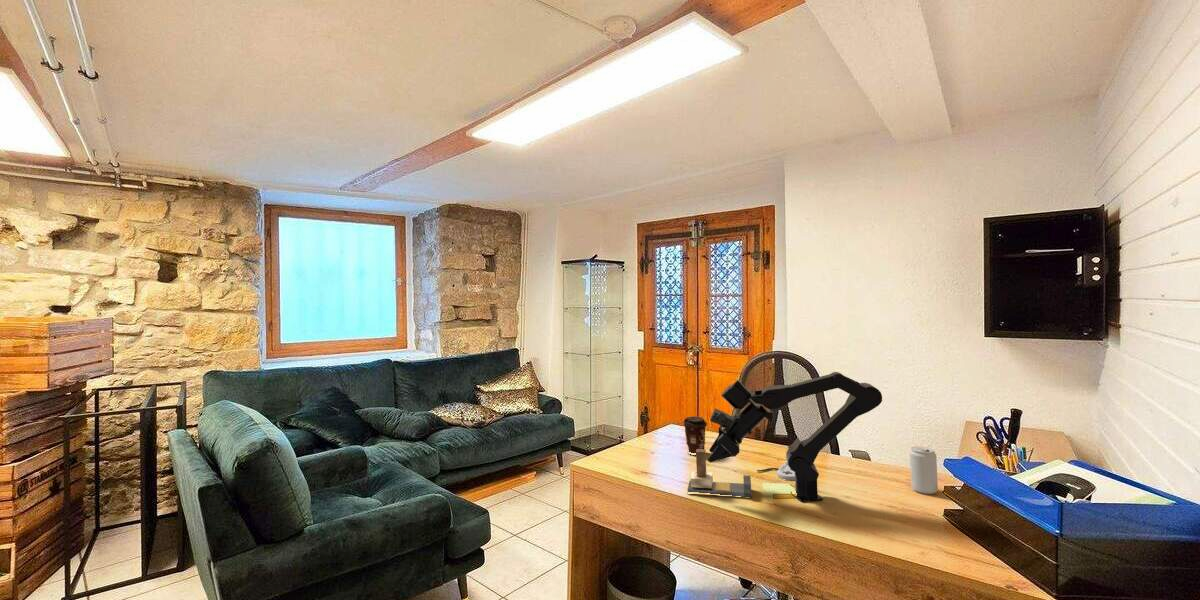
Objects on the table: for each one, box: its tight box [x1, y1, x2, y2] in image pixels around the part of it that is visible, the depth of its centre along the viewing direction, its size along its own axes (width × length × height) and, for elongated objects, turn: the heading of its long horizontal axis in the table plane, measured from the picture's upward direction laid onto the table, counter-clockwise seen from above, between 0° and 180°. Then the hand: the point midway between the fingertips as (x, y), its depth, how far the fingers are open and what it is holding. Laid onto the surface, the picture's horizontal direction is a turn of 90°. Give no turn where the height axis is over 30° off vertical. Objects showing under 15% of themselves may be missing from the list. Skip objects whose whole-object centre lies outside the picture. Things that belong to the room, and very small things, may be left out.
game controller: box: [756, 461, 795, 481], centre depth 162 cm, size 15×13×2 cm
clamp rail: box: [687, 474, 753, 499], centre depth 147 cm, size 18×7×4 cm, turn 75°
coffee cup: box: [683, 415, 708, 453], centre depth 183 cm, size 9×8×13 cm
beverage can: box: [909, 446, 939, 495], centre depth 142 cm, size 6×6×12 cm
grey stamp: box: [690, 448, 714, 488], centre depth 148 cm, size 6×6×10 cm
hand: (709, 456), depth 148 cm, fingers open, 9 cm apart
